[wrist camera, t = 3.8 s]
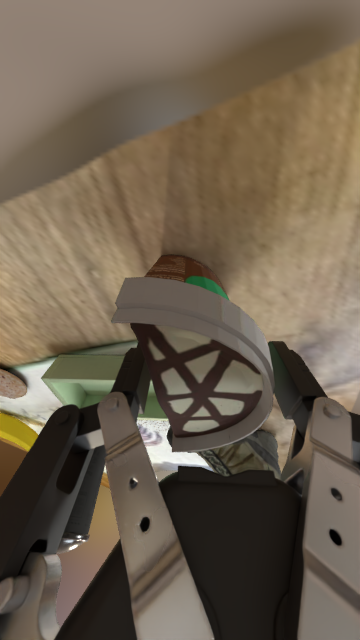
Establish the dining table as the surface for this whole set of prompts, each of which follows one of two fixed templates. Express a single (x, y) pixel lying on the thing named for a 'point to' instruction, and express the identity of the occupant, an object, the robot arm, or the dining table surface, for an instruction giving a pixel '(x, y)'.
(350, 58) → the dining table surface
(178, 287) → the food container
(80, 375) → the holder
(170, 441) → the hiking shoe
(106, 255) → the dining table surface
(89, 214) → the dining table surface
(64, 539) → the drinking cup
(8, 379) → the flatbread
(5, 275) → the dining table surface
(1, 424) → the banana
